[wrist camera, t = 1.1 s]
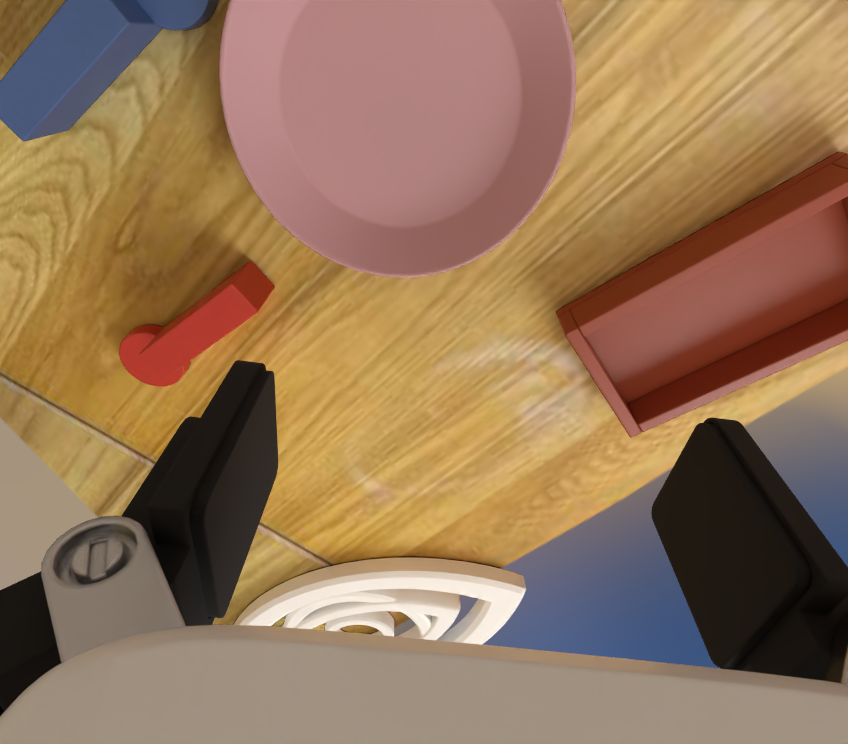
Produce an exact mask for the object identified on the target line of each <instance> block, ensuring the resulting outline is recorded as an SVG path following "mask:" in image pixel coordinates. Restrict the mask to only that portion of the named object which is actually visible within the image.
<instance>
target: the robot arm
mask: <svg viewBox="0 0 848 744" xmlns="http://www.w3.org/2000/svg"><path fill="white" fill-rule="evenodd" d="M277 469H278V448H277V426H276V403H275V381H274V373H273V372H272V371H266V367H265V365H264V364H263V363H255V362H247V361H239V360H238V361H235V363H234V364H233V366H232V367H231V369H230V371H229V372H228V374H227V375H226V377H225V379H224V380H223V382H222V384H221V385H220V387H219V389H218V390H217V392H216V393H215V395H214V397H213V398H212V400H211V402H210V403H209V405H208V407H207V408H206V410H205V411H204V413H203V415H202V416H201V418H198V417H188V418H186V419H185V420H184V421H183V423H182V424H181V425H180V427H179V428H178V430H177V432H176V433H175V435H174V436H173V438H172V439H171V441H170V442H169V444H168V445H167V447H166V448H165V450H164V452H163V453H162V455H161V456H160V458H159V459H158V461H157V462H156V464H155V465H154V467H153V468H152V470H151V472H150V473H149V475H148V476H147V478H146V479H145V481H144V482H143V484H142V485H141V487H140V489H139V490H138V492H137V493H136V495H135V496H134V498H133V499H132V501H131V502H130V504H129V505H128V507H127V509H126V510H125V512H124V513H123V515H122V516H105V517H99V518H95V519H92V520H88V521H85V522H83V523H81V524H79V525H77V526H75V527H73V528H71V529H70V530H68V531H67V532H65V533H64V534H63V535H61V536H60V537H59V538H57V540H56V541H55V542H54V543H53V544H52V545H51V547H50V548H49V549H48V550H47V552H46V554H45V556H44V559H43V561H42V567H41V572H39V573H37V574H34V575H33V576H30V577H28V578H26V579H24V580H22V581H19V582H17V583H16V584H13V585H11V586H9V587H7V588H5V589H2V590H0V744H848V567H847V566H846V564H845V563H844V562H843V560H842V559H841V558H840V556H839V555H838V554H837V552H836V551H835V550H834V549H833V547H832V546H831V544H830V543H829V542H828V540H827V539H826V538H825V536H824V535H823V533H822V532H821V531H820V529H819V528H818V527H817V525H816V524H815V523H814V521H813V520H812V518H811V517H810V516H809V515H808V513H807V512H806V510H805V509H804V508H803V506H802V505H801V504H800V503H799V501H798V500H797V498H796V497H795V495H794V494H793V493H792V492H791V490H790V489H789V487H788V486H787V485H786V483H785V482H784V481H783V479H782V478H781V477H780V475H779V474H778V473H777V471H776V470H775V469H774V467H773V466H772V464H771V463H770V462H769V460H768V459H767V458H766V456H765V455H764V454H763V452H762V451H761V450H760V448H759V447H758V446H757V444H756V443H755V442H754V440H753V439H752V437H751V436H750V435H749V433H748V432H747V431H746V429H745V428H744V427H743V425H742V424H741V423H740V422H738V421H735V420H727V419H719V418H708V419H707V420H705V421H704V423H699V424H698V425H697V426H696V427H695V429H694V431H693V433H692V434H691V436H690V438H689V440H688V442H687V443H686V445H685V447H684V449H683V451H682V452H681V454H680V456H679V458H678V460H677V462H676V463H675V465H674V467H673V469H672V471H671V472H670V474H669V476H668V478H667V480H666V481H665V483H664V485H663V487H662V489H661V491H660V492H659V494H658V496H657V498H656V500H655V501H654V504H653V506H652V519H653V522H654V524H655V527H656V529H657V531H658V534H659V536H660V539H661V541H662V544H663V546H664V548H665V551H666V553H667V555H668V558H669V560H670V562H671V565H672V567H673V570H674V572H675V575H676V577H677V579H678V582H679V584H680V587H681V589H682V591H683V593H684V596H685V598H686V601H687V603H688V606H689V608H690V610H691V613H692V615H693V618H694V620H695V622H696V624H697V627H698V629H699V632H700V634H701V637H702V639H703V641H704V644H705V646H706V649H707V651H708V653H709V656H710V658H711V660H712V661H713V663H714V664H715V665H716V666H718V667H720V668H721V669H719V668H709V667H700V666H689V665H680V664H670V663H660V662H652V661H641V660H632V659H622V658H612V657H602V656H592V655H582V654H572V653H562V652H552V651H542V650H531V649H521V648H511V647H501V646H490V645H480V644H470V643H459V642H448V641H437V640H427V639H416V638H405V637H394V636H384V635H373V634H362V633H351V632H339V631H326V630H312V629H299V628H286V627H273V626H253V625H212V623H213V621H214V618H215V617H217V618H223V617H224V615H225V614H226V611H227V609H228V606H229V604H230V601H231V598H232V595H233V593H234V590H235V587H236V585H237V582H238V579H239V576H240V574H241V571H242V568H243V565H244V563H245V560H246V557H247V555H248V552H249V549H250V546H251V544H252V541H253V538H254V535H255V533H256V530H257V527H258V525H259V522H260V519H261V516H262V514H263V511H264V508H265V505H266V503H267V500H268V497H269V495H270V492H271V489H272V486H273V484H274V481H275V478H276V474H277Z"/></svg>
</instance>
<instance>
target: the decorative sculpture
mask: <svg viewBox="0 0 848 744" xmlns="http://www.w3.org/2000/svg"><path fill="white" fill-rule="evenodd" d="M525 591H526V586H525V582H524V577H523V575H520V574H517V573H514V572H511V571H507V570H503V569H499V568H495V567H491V566H486V565H481V564H475V563H470V562H464V561H456V560H447V559H436V558H383V559H369V560H363V561H356V562H349V563H343V564H339V565H334V566H330V567H325V568H322V569H319V570H315V571H312V572H309V573H306V574H303V575H300V576H298V577H295V578H293V579H290V580H288V581H286V582H284V583H282V584H280V585H278V586H276V587H274V588H272V589H271V590H269V591H268V592H266V593H264V594H263V595H261V596H260V597H258V598H257V599H256V600H255V601H254V602H252V603H251V604H250V605H249V606H248V607H247V608H246V609H245V610H244V611H243V612H242V613H241V614H240V615H239V617H238V619H237V620H236V622H235V623H234V625H253V626H271V625H272V624H274V623H275V622H276V621H278V620H279V619H280V618H282V617H283V616H285V615H286V618H285V622H284V624H283V625H282V626H281V627H286V628H299V629H312V628H314V627H316V626H318V625H320V624H323V623H325V622H326V625H325V630H326V631H339V632H344V631H342V630H341V629H340V628H342V627H345V626H349V625H367V626H371V627H374V628H376V629H378V630H379V631H377V632H375V633H373V635H384V636H394V619H393V617H392V616H391V614H390V613H389V612H387V611H400V612H402V613H404V614H405V615H407V616H408V617H409V618H411V619H412V620H413V621H414V622H415V624H416V625H415V626H413V627H412V628H410V629H409V630H407V631H405V632H404V633H401V634H399V635H397V636H395V637H405V638H416V639H427V640H437V641H448V642H459V643H470V644H480V645H482V644H483V643H485V642H486V641H487V640H488V639H489V638H491V637H492V636H493V635H494V634H495V633H496V632H497V631H498V630H499V629H500V628H501V627H502V626H503V625H504V624H505V623H506V622H507V620H508V619H509V618H510V616H511V615H512V614H513V613H514V611H515V610H516V608H517V606H518V605H519V603H520V601H521V600H522V598H523V595H524V593H525ZM459 594H460V595H466V596H470V597H474V598H478V600H477V601H476V603H475V604H474V606H473V607H472V608H471V610H470V611H469V612H468V613H467V614H466V616H465V617H464V618H463V619H462V620H461V621H460V622H459V623H458V624H456V625H455V626H454V627H453V628H452V629H450V630H449V631H447V629H449V627H450V626H451V625H452V623H453V622H454V621H455V619H456V617H457V616H458V614H459V611H460V608H461V607H460V598H459ZM445 631H447V632H446V633H445ZM444 633H445V634H444Z"/></svg>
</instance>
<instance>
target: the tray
mask: <svg viewBox="0 0 848 744" xmlns="http://www.w3.org/2000/svg"><path fill="white" fill-rule="evenodd" d="M556 313H557V316H558V318H559V321H560V323H561V326H562V328H563V331H564V333H565V336H566V337H567V339H568V340H569V342H570V343H571V345H572V347H573V348H574V350H575V351H576V353H577V355H578V356H579V358H580V359H581V361H582V362H583V364H584V366H585V367H586V369H587V370H588V372H589V373H590V375H591V377H592V378H593V380H594V381H595V383H596V384H597V386H598V388H599V389H600V391H601V392H602V394H603V395H604V397H605V399H606V400H607V402H608V403H609V405H610V406H611V408H612V410H613V411H614V413H615V414H616V416H617V417H618V419H619V421H620V422H621V424H622V425H623V427H624V428H625V430H626V432H627V433H628V435H629V436H630V437H633V436H636V435H638V434H640V433H642V432H644V431H647V430H649V429H651V428H653V427H656V426H658V425H660V424H662V423H664V422H667V421H669V420H671V419H673V418H676V417H678V416H680V415H682V414H685V413H687V412H689V411H691V410H693V409H696V408H698V407H700V406H702V405H705V404H707V403H709V402H711V401H714V400H716V399H718V398H720V397H723V396H725V395H727V394H729V393H731V392H734V391H736V390H738V389H740V388H743V387H745V386H747V385H749V384H752V383H754V382H756V381H758V380H760V379H763V378H765V377H767V376H769V375H772V374H774V373H776V372H778V371H781V370H783V369H785V368H787V367H789V366H792V365H794V364H796V363H798V362H801V361H803V360H805V359H807V358H810V357H812V356H814V355H816V354H819V353H821V352H823V351H825V350H827V349H830V348H832V347H834V346H836V345H839V344H841V343H843V342H845V341H848V154H846V153H843V152H838V153H836V154H834V155H832V156H831V157H829V158H827V159H825V160H823V161H822V162H820V163H818V164H816V165H815V166H813V167H811V168H809V169H808V170H806V171H804V172H802V173H800V174H799V175H797V176H795V177H793V178H792V179H790V180H788V181H786V182H784V183H783V184H781V185H779V186H777V187H776V188H774V189H772V190H770V191H769V192H767V193H765V194H763V195H761V196H760V197H758V198H756V199H754V200H753V201H751V202H749V203H747V204H745V205H744V206H742V207H740V208H738V209H737V210H735V211H733V212H731V213H730V214H728V215H726V216H724V217H722V218H721V219H719V220H717V221H715V222H714V223H712V224H710V225H708V226H706V227H705V228H703V229H701V230H699V231H698V232H696V233H694V234H692V235H691V236H689V237H687V238H685V239H683V240H682V241H680V242H678V243H676V244H675V245H673V246H671V247H669V248H667V249H666V250H664V251H662V252H660V253H659V254H657V255H655V256H653V257H651V258H650V259H648V260H646V261H644V262H643V263H641V264H639V265H637V266H636V267H634V268H632V269H630V270H628V271H627V272H625V273H623V274H621V275H620V276H618V277H616V278H614V279H612V280H611V281H609V282H607V283H605V284H604V285H602V286H600V287H598V288H597V289H595V290H593V291H591V292H589V293H588V294H586V295H584V296H582V297H581V298H579V299H577V300H575V301H573V302H572V303H570V304H568V305H566V306H565V307H563V308H561V309H559V310H558V311H556Z"/></svg>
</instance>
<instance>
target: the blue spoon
mask: <svg viewBox="0 0 848 744" xmlns="http://www.w3.org/2000/svg"><path fill="white" fill-rule="evenodd" d="M217 2H218V0H66V1H65V2H64V3H63V5H62V6H61V7H60V8H59V10H58V11H57V12H56V13H55V14H54V16H53V17H52V18H51V19H50V21H49V22H48V23H47V24H46V25H45V27H44V28H43V29H42V30H41V32H40V33H39V34H38V35H37V36H36V38H35V39H34V40H33V41H32V43H31V44H30V45H29V46H28V48H27V49H26V50H25V51H24V52H23V54H22V55H21V56H20V57H19V59H18V60H17V61H16V62H15V63H14V65H13V66H12V67H11V68H10V70H9V71H8V72H7V73H6V75H5V76H4V77H3V78H2V79H1V81H0V119H1V120H2V121H3V122H4V123H5V124H6V125H7V126H8V127H9V128H10V129H11V130H12V131H13V132H14V133H15V134H16V135H17V136H18V137H19V138H20V139H21V140H22V141H28V140H32V139H36V138H40V137H44V136H48V135H52V134H56V133H60V132H63V131H67V130H69V129H70V128H71V127H72V125H73V124H74V123H75V122H76V121H77V120H78V119H79V118H80V117H81V116H82V115H83V114H84V113H85V111H86V110H87V109H88V108H89V107H90V106H91V105H92V104H93V103H94V102H95V101H96V100H97V99H98V97H99V96H100V95H101V94H102V93H103V92H104V91H105V90H106V89H107V88H108V87H109V86H110V85H111V83H112V82H113V81H114V80H115V79H116V78H117V77H118V76H119V75H120V74H121V73H122V72H123V71H124V69H125V68H126V67H127V66H128V65H129V64H130V63H131V62H132V61H133V60H134V59H135V58H136V57H137V55H138V54H139V53H140V52H141V51H142V50H143V49H144V48H145V47H146V46H147V45H148V44H149V42H150V41H151V40H152V39H153V38H154V37H155V36H156V35H157V34H158V33H159V32H160V31H161V30H162V28H164V29H169V30H191V29H195V28H198V27H200V26H201V25H203V24H204V23H205V22H207V21H208V20H209V18H210V17H211V16H212V14H213V12H214V10H215V8H216V5H217Z"/></svg>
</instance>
